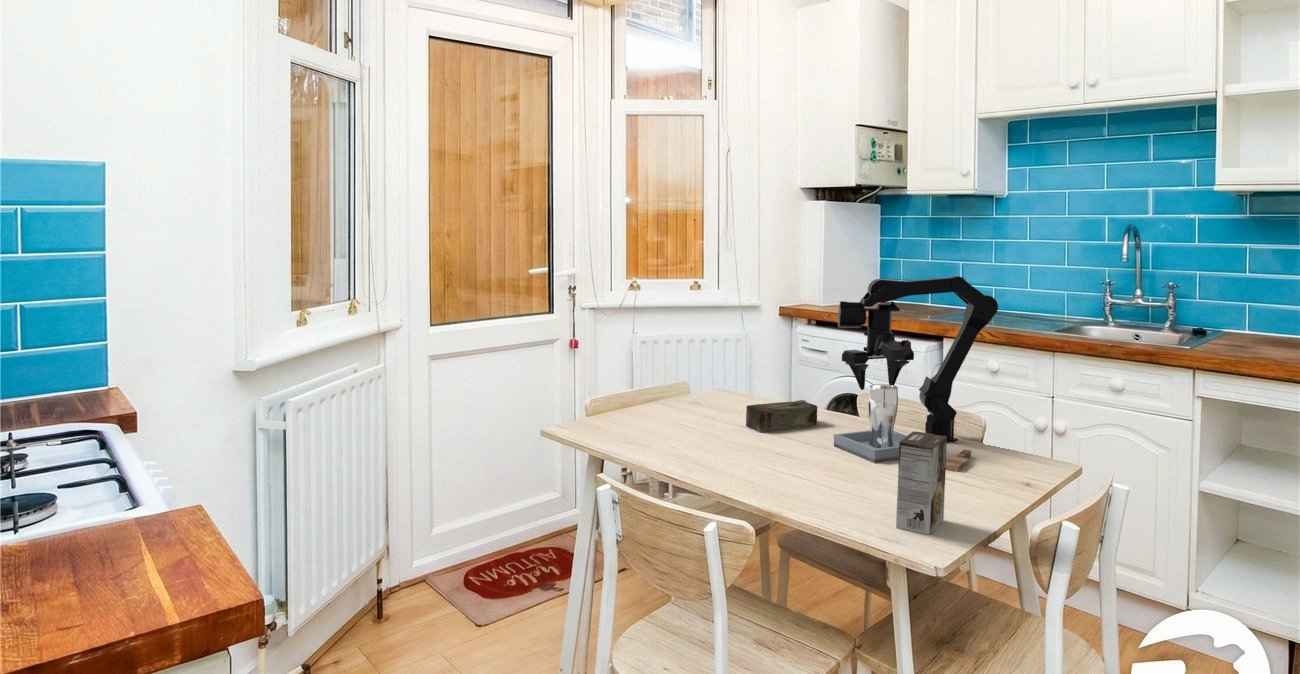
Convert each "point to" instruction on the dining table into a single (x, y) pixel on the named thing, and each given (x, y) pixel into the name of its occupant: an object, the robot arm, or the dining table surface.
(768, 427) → the beverage carton
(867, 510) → the dining table surface
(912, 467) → the coffee box
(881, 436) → the silver metal cup
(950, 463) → the scraper paddle
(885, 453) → the tray
